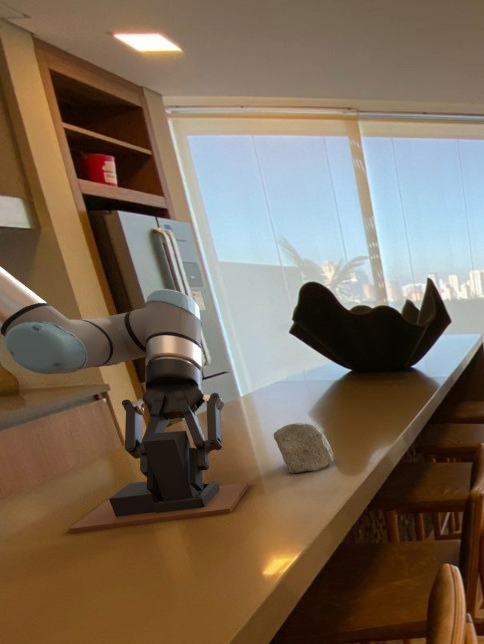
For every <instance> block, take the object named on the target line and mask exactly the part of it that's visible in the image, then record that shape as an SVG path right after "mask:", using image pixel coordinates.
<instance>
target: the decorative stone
mask: <svg viewBox="0 0 484 644" xmlns="http://www.w3.org/2000/svg"><path fill="white" fill-rule="evenodd" d="M272 435H273V439H274V441H275V442H276V446H277V448H278V449H279V452H280V454H281V457H282V460H283V463H284V464H285V465H286V466H287V467H288V470H289V472H290V473H291V474H299V473H306V472H316V471H319V470H322V469H324V468H326V467H327V466H328V465H330V464H331V463H332V462H334V453H333V449H332V447H331V444H330V443H329V441H328V438H327V437H326V435H324V433H322V432H321V431H320V429H319V428H317V427H316V426H315V425H313V424H311V423H302V422H295V423H289V424H286V425H284V426H282V427H281V428H278V429H277V430H276V431H274V433H273V434H272Z"/></svg>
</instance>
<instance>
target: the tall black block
mask: <svg viewBox="0 0 484 644" xmlns="http://www.w3.org/2000/svg"><path fill="white" fill-rule="evenodd" d="M143 445H144V448H145V451H146V453H147V456H148V459H149V462H150V465H151V468H152V471H153V473H154V476H155V479H156V482H157V485H158V488H159V491H160V494H161V496H162V499H163V501H171V500H180V499H188V498H196V497H197V496H198V495H199V494H200V493H201V492H202V491H196V490H195V489H194V487H193V486H192V485H191V484H190V467H189V448H192V445H191V442H190V438H189V436H188V433H187V430H177V431H166V432H165V431H164V433H156V434H154V435H153V436H151V437H149V438H148V439H146V440H145V441H143ZM203 490H204V486H203Z"/></svg>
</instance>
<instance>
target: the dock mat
mask: <svg viewBox="0 0 484 644" xmlns="http://www.w3.org/2000/svg"><path fill="white" fill-rule="evenodd" d="M203 486H204V490H203V491H202V492H201V493H200V494H199V495H198V496H197V497H196V498H188V499H180V500H171V501H163V499H162V496H156V497H155V496H154V495H153V494H152V493H151V492H150V491H149V490H147V480H146V481H138V482H137V481H136V482H129V483H128V484H127V485H125V486H124V487H122V488H121V489H120V490H119V491H117V492H116V493H114V494H113V495H112V496H111V497H109V498H108V499H106V501H103V502H102V503H101V504H100V505H99V506H97V507H96V508H94V509H92V511H90V512H89V513H88V514H87V515H85V516H84V517H83V518H81V519H80V520H79V521H77V522H76V523H75V524H73V525H72V526H71V527H69V528H68V530H69V532H70V534H73V533H74V534H75V533H82V532H90V531H96V530H97V531H98V530H106V529H113V528H121V527H128V526H137V525H146V524H153V523H159V522H167V521H176V520H183V519H192V518H200V517H206V516H214V515H223V514H228V513H229V514H230V513H231V512H232V511H233V510H234V509H235V507H236V506H237V504H238V502H240V500H241V498H242V497H243V496H244V494H245V493H246V491H247V490H248V489H249V487H250V484H249V482H242V483H233V484H224V485H223V484H222V485H219V481H217V480H215V481H208V482H207V481H206V482H203Z"/></svg>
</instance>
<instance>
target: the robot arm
mask: <svg viewBox="0 0 484 644" xmlns="http://www.w3.org/2000/svg"><path fill="white" fill-rule="evenodd" d="M144 305H145V307H143V308H138V309H134V310H131V311H128V312H123V313H119V314H114V315H108V316H102V317H92V318H79V319H69V318H68V317H67V316H65V315H64V314H62V313H61V312H60V311H58V310H57V309H56V308H55V307H54V306H52V305H50V303H48V302H46V301H45V300H44V299H43V298H41V297H40V296H38V295H37V294H36V293H35V292H34V291H33V290H31V289H30V288H29V287H27V286H26V285H25V284H24V283H22V282H21V281H20V280H19V279H18V278H16V277H14V276H13V275H12V274H11V273H10V272H8V271H7V270H5V269H4V268H3V267H2V266H0V335H2V336H4V337H5V340H4V341H5V347H6V350H7V351H8V352H9V354H10V356H11V357H12V359H13V360H14V361H15V363H17V364H18V365H19V366H20V367H22V368H24V369H26V370H28V371H30V372H34V373H37V374H41V375H42V374H43V375H57V374H71V373H75V372H77V371H80V370H86V369H90V368H101V367H110V366H116V365H119V364H121V363H125V362H129V361H133V360H137V359H141V358H145V372H144V373H145V375H144V378H145V379H144V380H145V381H144V383H145V391H144V393H143V395H142V396H141V398H138V399H136V400H133V401H132V400H130V399H124V400H121V405H122V407H123V409H124V411H125V425H124V428H125V429H124V450H125V451H126V452H127V453H128V454H129V455H130V456H131V457H132V458H133V459H137V460H138V459H139V466H140V467H139V471H140V472H141V474H142V475H144V477H146V481H147V490H149V491H150V492H151V493H152V494H153V495H154V496H155V497H156V496H161V494H160V491H159V488H158V485H157V482H156V479H155V476H154V473H153V471H152V468H151V465H150V462H149V459H148V456H147V453H146V451H145V448H144V445H143V441H145V440H146V439H148V438H149V437H151V436H153V435H154V434H156V433H164V432H165V431H166V428H167V426H169V425H170V422H171V420H174V419H184V420H185V421H184V422H185V423H186V426H187V429H188V432H189V433H190V435H191V436H190V437H191V439H192V441H193V443H192V444H193V445H194V447H191V448H189V467H190V484H191V485H192V486H193V487H194V489H195V490H196V491H203V483H204V481H203V480H204V479H203V471H208V470H209V468H210V453H211V452H212V451H215V450H216V451H220V450H222V449H223V433H222V432H223V431H222V410H223V408H224V406H225V402H224V400H223V399H222V398H221V396H220V394H219V393H217V392H212V393H211V394H207V393H204V391H203V373H202V372H203V353H202V327H203V324H202V321H201V312H200V307H199V305H198V304H197V302H196V301H195V300H194V299H193V298H191V296H188V295H187V294H186V293H183V292H181V291H177V290H174V289H165V288H164V289H157V290H154V291H152V292H151V293H149V294H148V295H147V297H146V301H145V303H144ZM203 404H205V406H206V429H207V430H206V431H207V439H206V438H205V435H204V433H203V430H202V428H201V424H200V422H199V418H198V416H197V413H196V412H197V411H198V410H199V409H200V408H201V407H202V405H203ZM145 408H149V409H150V412H149V416H150V417H149V419H148V423H147V426H146V429H145V432H144V434H143V429H144V424H143V423H144V420H143V416H144V415H145Z"/></svg>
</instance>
